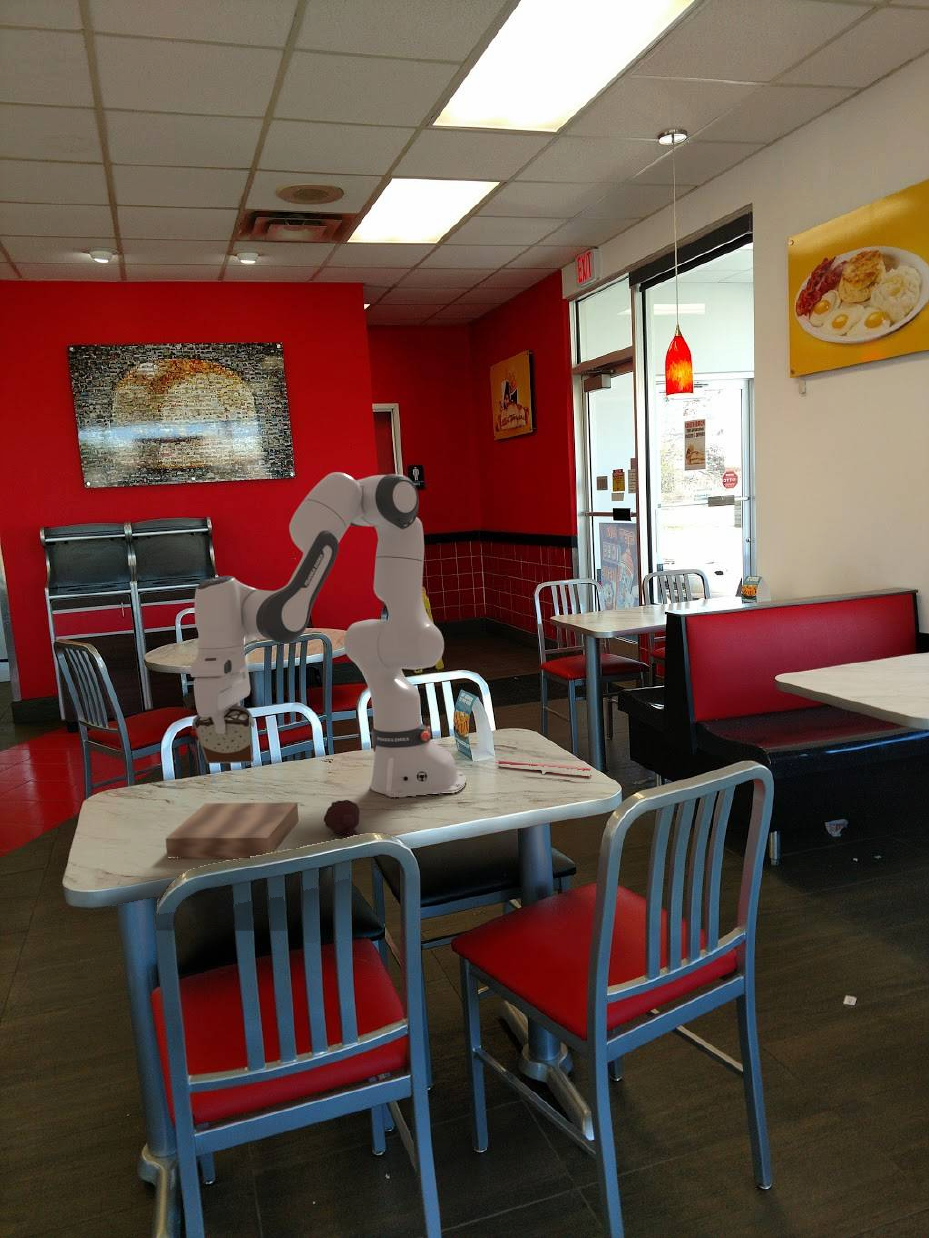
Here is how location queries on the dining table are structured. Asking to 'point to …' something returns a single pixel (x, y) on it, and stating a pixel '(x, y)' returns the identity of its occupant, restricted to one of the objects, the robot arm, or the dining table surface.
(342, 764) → the dining table surface
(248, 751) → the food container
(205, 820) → the walnut block
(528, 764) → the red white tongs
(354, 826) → the icecream
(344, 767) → the dining table surface
